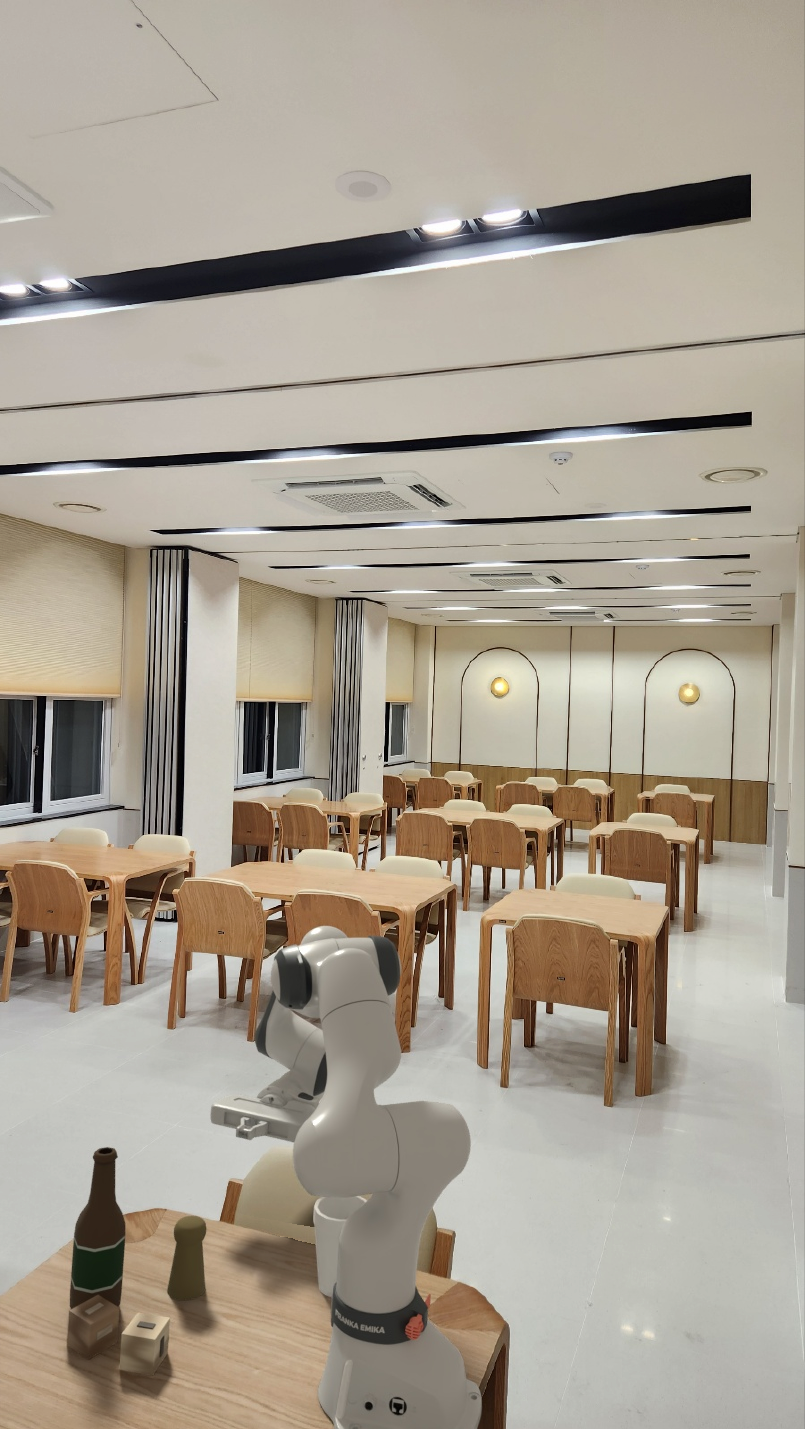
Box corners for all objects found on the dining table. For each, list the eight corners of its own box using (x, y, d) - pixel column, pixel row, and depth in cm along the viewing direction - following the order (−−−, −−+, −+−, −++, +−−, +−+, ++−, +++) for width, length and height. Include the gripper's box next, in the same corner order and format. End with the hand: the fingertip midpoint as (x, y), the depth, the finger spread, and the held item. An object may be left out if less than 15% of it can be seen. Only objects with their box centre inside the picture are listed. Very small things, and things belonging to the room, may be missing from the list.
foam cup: (300, 1295, 146) (305, 1213, 147) (321, 1265, 155) (326, 1188, 155) (355, 1309, 143) (360, 1226, 144) (373, 1277, 152) (378, 1199, 153)
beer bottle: (87, 1330, 135) (98, 1166, 136) (58, 1308, 139) (69, 1150, 140) (131, 1306, 141) (141, 1150, 142) (101, 1286, 146) (112, 1135, 146)
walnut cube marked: (117, 1342, 132) (120, 1307, 133) (88, 1360, 128) (91, 1323, 128) (95, 1328, 135) (98, 1293, 135) (66, 1345, 131) (69, 1309, 131)
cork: (195, 1303, 143) (200, 1232, 143) (160, 1296, 144) (165, 1226, 144) (211, 1281, 148) (215, 1213, 149) (177, 1275, 150) (181, 1207, 150)
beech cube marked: (168, 1352, 131) (171, 1316, 131) (153, 1376, 126) (156, 1338, 126) (135, 1347, 132) (137, 1311, 132) (119, 1370, 127) (121, 1332, 127)
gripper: (232, 1080, 179) (194, 1105, 166) (326, 1100, 172) (294, 1128, 159) (230, 1112, 179) (192, 1140, 166) (324, 1133, 172) (291, 1164, 159)
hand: (242, 1134), depth 162 cm, fingers closed
